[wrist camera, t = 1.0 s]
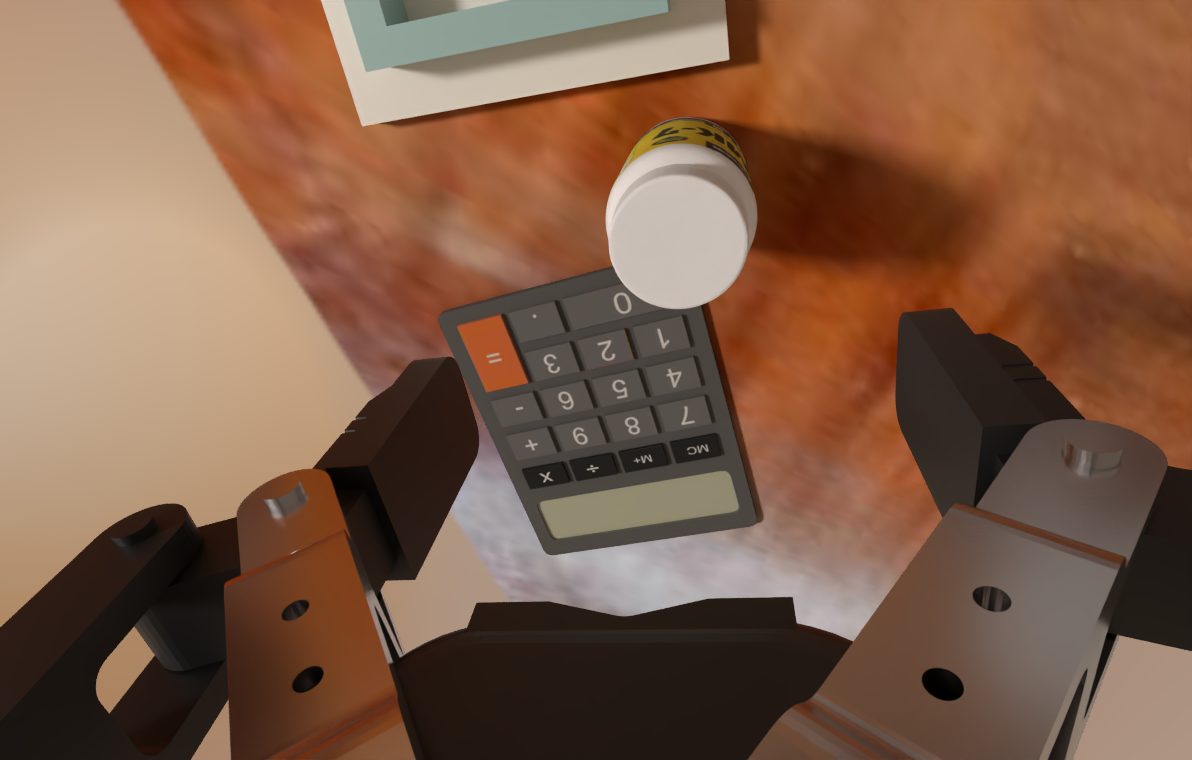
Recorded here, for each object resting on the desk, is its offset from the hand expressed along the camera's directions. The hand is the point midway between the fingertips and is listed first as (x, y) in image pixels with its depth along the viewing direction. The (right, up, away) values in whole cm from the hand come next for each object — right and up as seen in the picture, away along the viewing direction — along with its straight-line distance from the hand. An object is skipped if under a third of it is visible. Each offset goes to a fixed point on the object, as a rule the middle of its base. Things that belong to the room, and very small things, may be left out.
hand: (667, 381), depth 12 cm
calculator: (-1, -2, +20) cm, 21 cm away
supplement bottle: (+2, +8, +14) cm, 16 cm away
